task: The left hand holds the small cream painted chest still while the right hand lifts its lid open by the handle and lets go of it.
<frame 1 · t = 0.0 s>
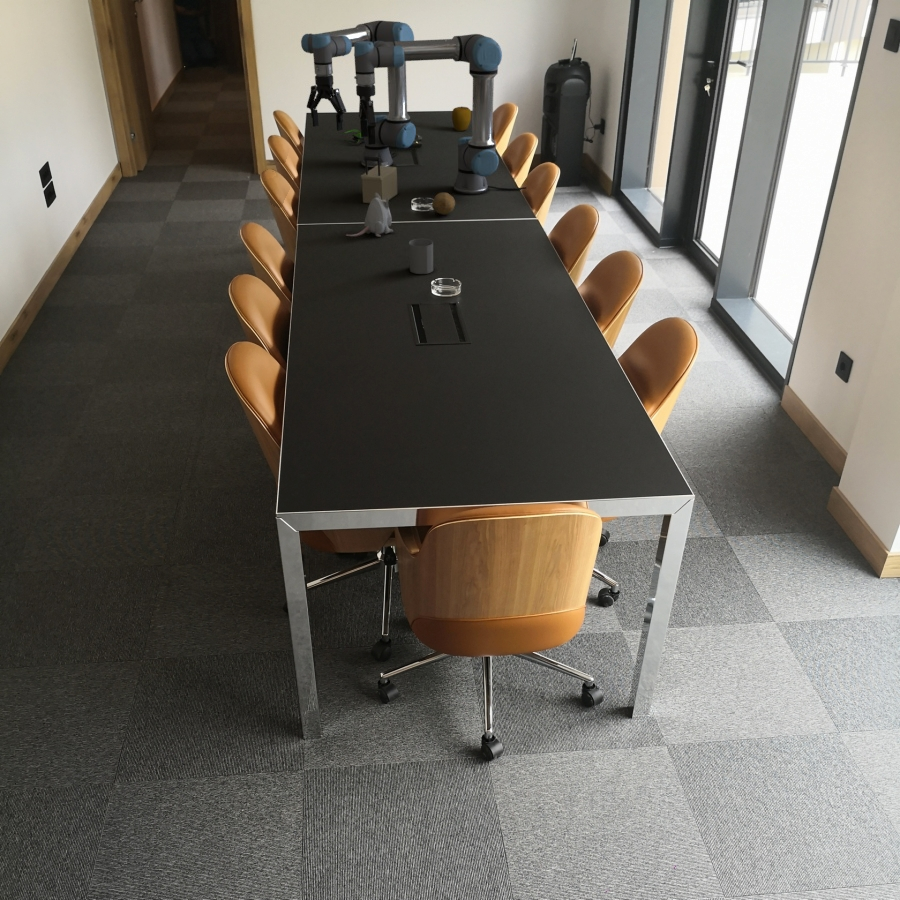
left hand: (327, 128, 372), 28 cm above the table, tool pointing down, fingers open, 13 cm apart
right hand: (368, 140, 354), 28 cm above the table, tool pointing down, fingers open, 13 cm apart
green dinosaur: (371, 142, 466), on the table
potato: (443, 213, 363), on the table
toy: (369, 237, 338), on the table
chest: (380, 198, 381), on the table
apple: (461, 130, 491), on the table
cup: (421, 270, 308), on the table
lid: (378, 163, 373), point 15 cm above the table, hinge at 0.0°
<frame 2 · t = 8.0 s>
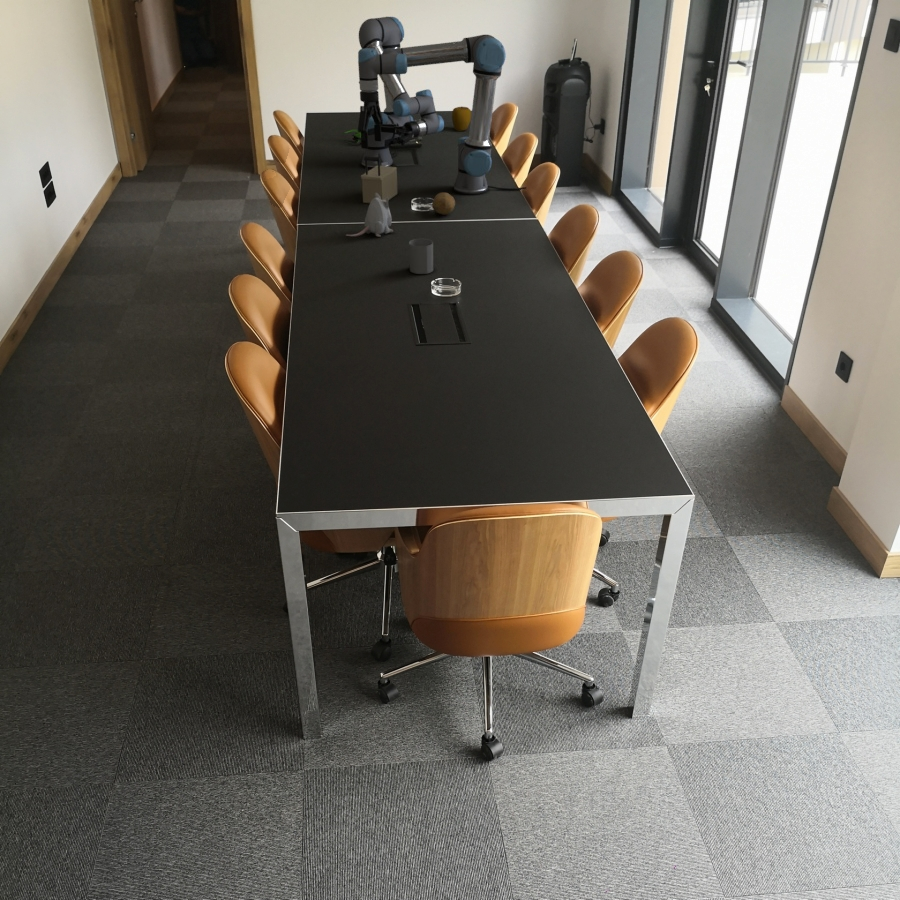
left hand: (376, 137, 395), 19 cm above the table, tool horizontal, fingers open, 13 cm apart
right hand: (371, 144, 363), 24 cm above the table, tool pointing down, fingers open, 13 cm apart
nothing on the table moved.
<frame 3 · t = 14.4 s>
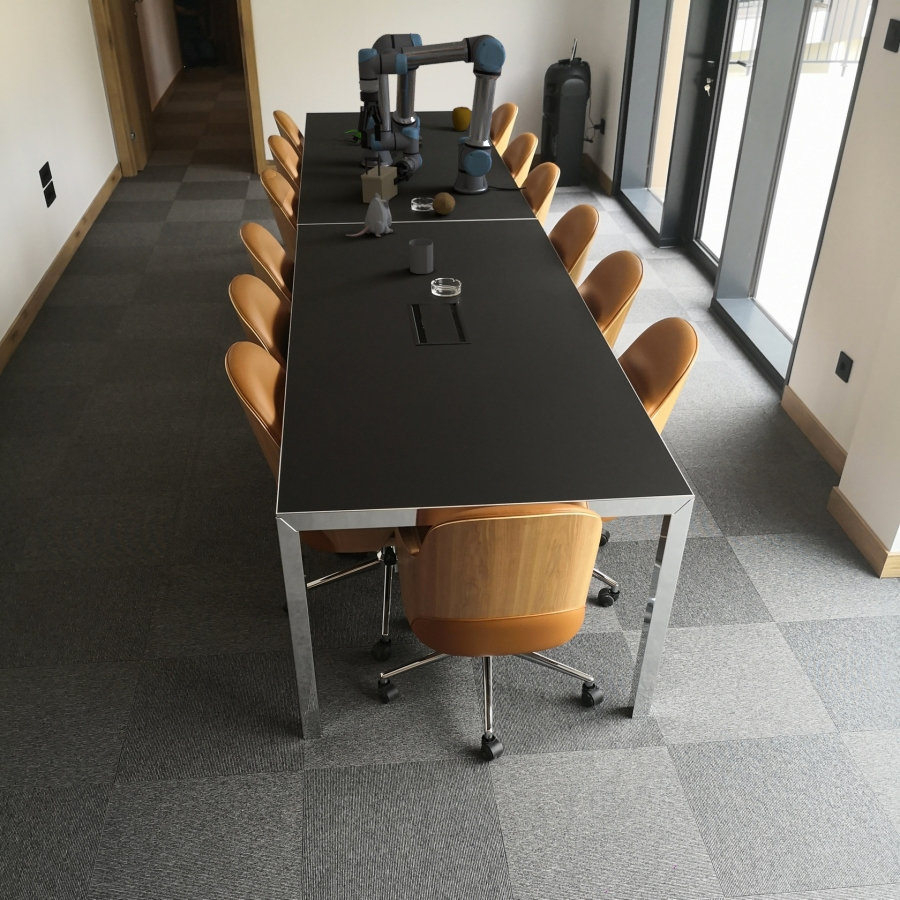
left hand: (384, 180, 382), 6 cm above the table, tool horizontal, fingers closed on chest, 9 cm apart
right hand: (371, 144, 363), 24 cm above the table, tool pointing down, fingers open, 13 cm apart
chest: (380, 198, 381), on the table, touching left hand
everything else where it was.
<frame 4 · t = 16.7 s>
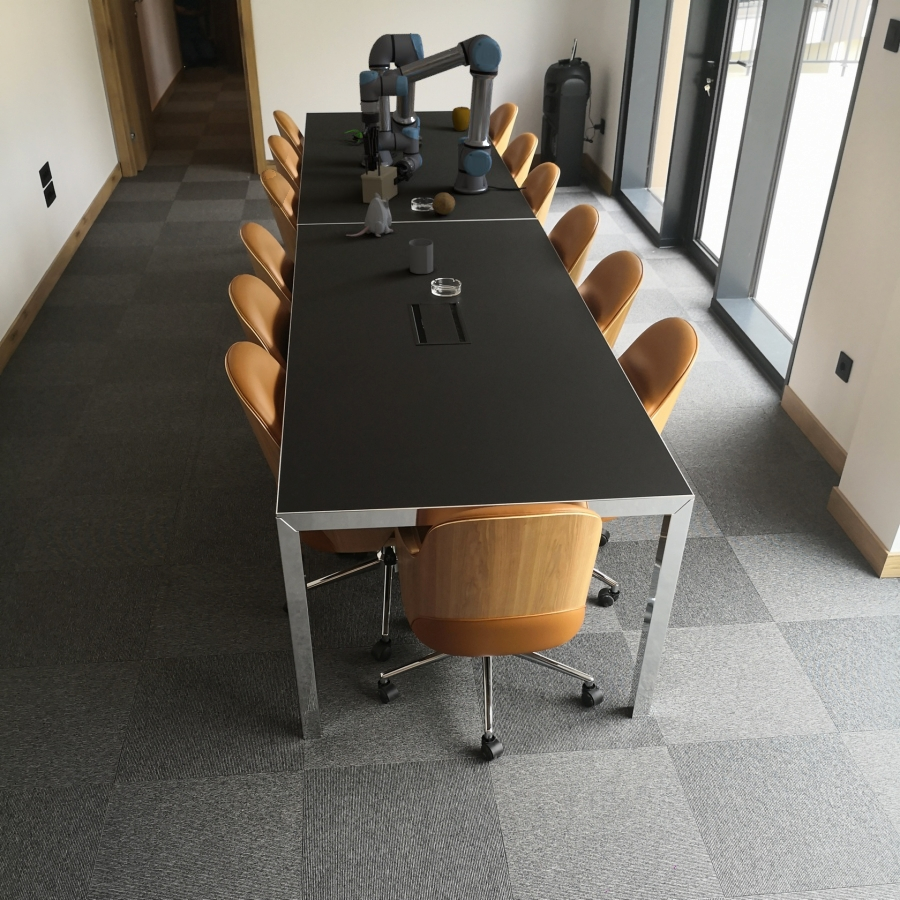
left hand: (384, 180, 382), 6 cm above the table, tool horizontal, fingers closed on chest, 9 cm apart
right hand: (372, 170, 369), 14 cm above the table, tool pointing down, fingers closed on lid, 2 cm apart
chest: (380, 198, 382), on the table, touching left hand
lid: (378, 163, 373), point 15 cm above the table, hinge at 0.0°, touching right hand
everything else where it was.
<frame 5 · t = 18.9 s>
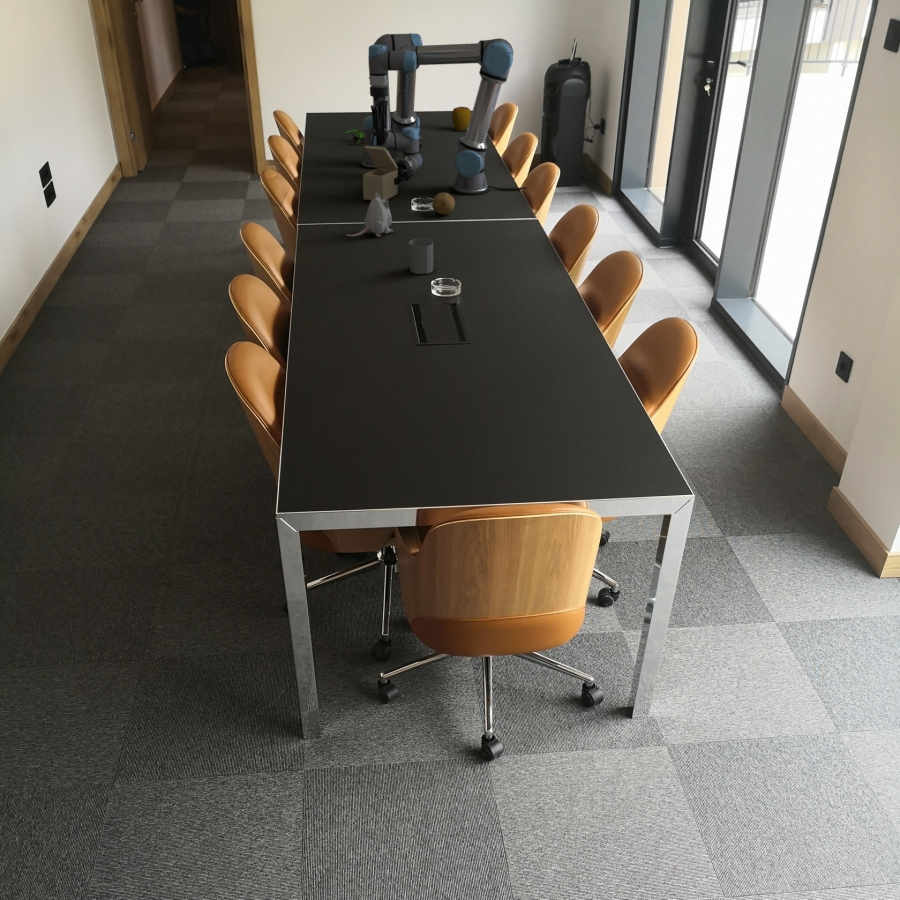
left hand: (384, 180, 382), 6 cm above the table, tool horizontal, fingers closed on chest, 9 cm apart
right hand: (380, 144, 371), 22 cm above the table, tool pointing down, fingers closed on lid, 2 cm apart
chest: (380, 196, 381), point 1 cm above the table, touching left hand
lid: (383, 149, 375), point 20 cm above the table, hinge at 35.3°, touching right hand
everything else where it was.
when the left hand's fingers open (6 cm above the table, at t = 25.0 s): chest stays where it is, on the table.
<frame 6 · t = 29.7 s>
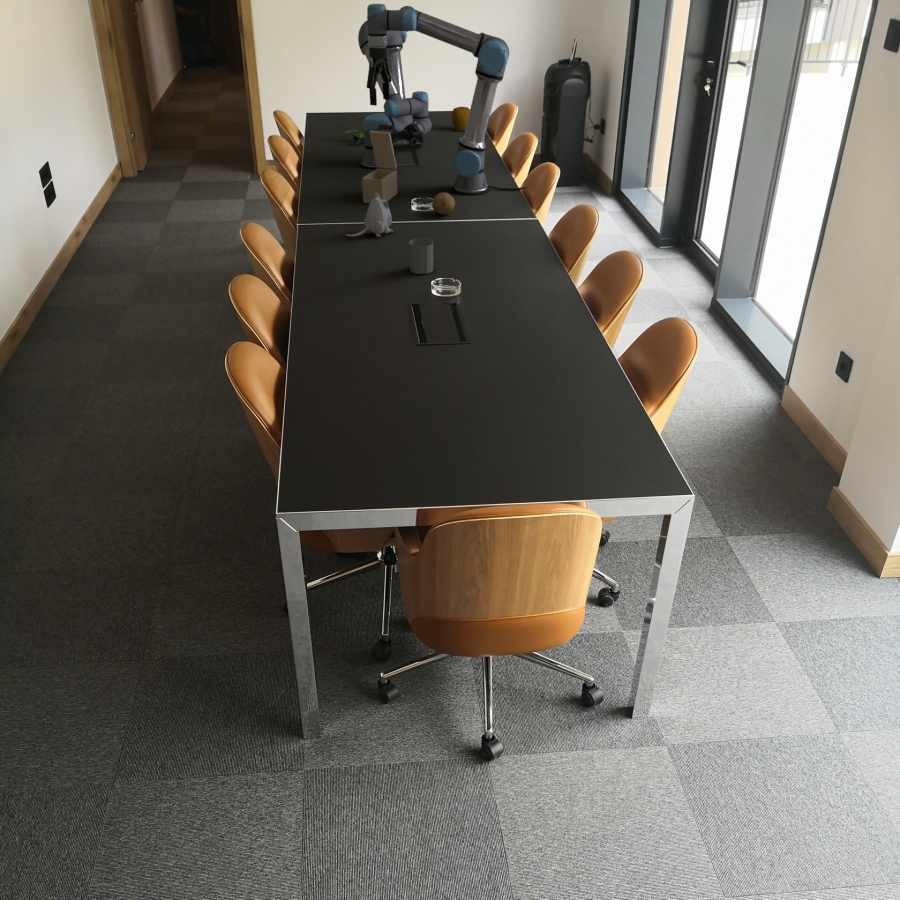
left hand: (395, 142, 386), 20 cm above the table, tool horizontal, fingers open, 13 cm apart
right hand: (380, 102, 363), 39 cm above the table, tool pointing down, fingers open, 13 cm apart
chest: (380, 198, 381), on the table
lid: (386, 144, 377), point 21 cm above the table, hinge at 68.1°
everything else where it was.
at the end: lid at +68° (first picture: +0°); the left hand is holding nothing; the right hand is holding nothing; chest tilted 0°; chest never tilted more than 5° during the clip; chest moved 0.3 cm from its start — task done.
